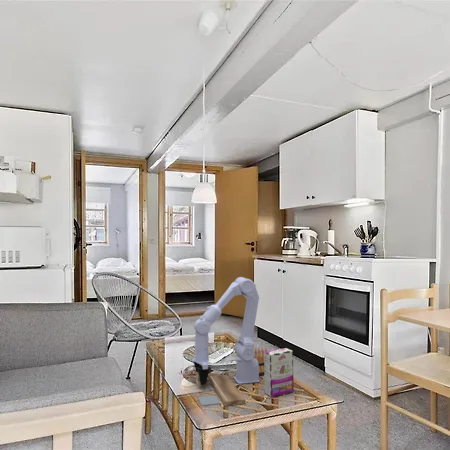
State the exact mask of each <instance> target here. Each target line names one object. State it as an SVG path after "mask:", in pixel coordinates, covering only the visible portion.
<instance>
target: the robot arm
mask: <svg viewBox="0 0 450 450" xmlns="http://www.w3.org/2000/svg"><path fill="white" fill-rule="evenodd" d="M241 295H242V296H243V297H244V298H245V300H246V302H245V308H244V314H243V319H242V325H241V331H240V336H239V337H238V339H237V342H236V344H235V346H234V351H235V353H236V359H235V361H236V362H235V373H236V374H235V376H234V375H233V377H232V378H233V379H234V380H235V382H236V383H237V384H238V385H242V384H252V383H254V384H255V383H259V382H260V376H259V364H258V361H257V359H256V358H254V355H255V348H254V347H255V342H254V340H253V339H254V331H255V326H256V325H255V324H256V319H257V312H258V307H259V306H258V305H259V300H260V297H259V296H260V295H259V293H258V291H257V285H256V283H255V282H254V281H253V280H251V279H250V278H246V277H243V276H239V277H237V278H235V279H234V281H233V282H231V284H230V285H229V287H228V288H227V290H225V292H224V293H223V294H222V295H221V297H220V298H219V299H218V301H217V302H216V303H215V304H211V305H210V306H209V305H208V306H207V307H206V309H207V310H205V312H204V313H203V314H202V315H200V316H199V319H196V321H195V322H194V325H193V328H194V330H195V334H194V335H195V337H194V358H192V360H191V362H192V363H193V365H194V368H195V373H196V372H199V377H200V384H201V385H206V382H207V383H208V379H209V374H210V371H211V370H212V367H210V366H208V365H209V362H210V358H209V348H210V347H209V339H210V338H209V333H210V332H211V326H213V324H214V323H215V322H216V321H217V320H218V319H219V317H220V316H222V310H223V309H224V307H226V306H227V304H228V303H229V302H230V301H231V300H232V299H233V298H234V297H236V296H241Z"/></svg>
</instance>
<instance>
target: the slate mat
mask: <svg viewBox="0 0 450 450" xmlns="http://www.w3.org/2000/svg"><path fill="white" fill-rule="evenodd" d="M197 399H198V401H199V403H200V406H201V407H205V406H206V407H207V406H214V405H220V404H221V401H220V400H219V397H217V394H216V395H215V394H214V395H207V396H198V397H197Z"/></svg>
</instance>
